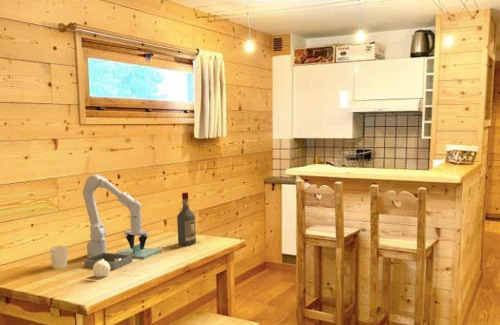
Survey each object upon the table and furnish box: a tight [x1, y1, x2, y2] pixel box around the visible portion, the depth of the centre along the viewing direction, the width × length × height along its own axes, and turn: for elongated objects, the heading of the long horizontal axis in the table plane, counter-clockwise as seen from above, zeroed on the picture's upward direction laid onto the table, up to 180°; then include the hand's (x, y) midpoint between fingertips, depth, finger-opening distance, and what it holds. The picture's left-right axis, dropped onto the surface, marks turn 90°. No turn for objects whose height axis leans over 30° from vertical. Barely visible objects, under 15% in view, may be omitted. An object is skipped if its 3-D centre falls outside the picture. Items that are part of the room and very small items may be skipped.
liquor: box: [176, 192, 197, 247], centre depth 268 cm, size 9×9×30 cm
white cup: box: [49, 245, 68, 269], centre depth 228 cm, size 8×8×10 cm
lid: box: [114, 243, 161, 260], centre depth 248 cm, size 19×15×5 cm
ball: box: [92, 260, 111, 278], centre depth 211 cm, size 8×8×8 cm
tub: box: [83, 252, 133, 271], centre depth 229 cm, size 18×14×4 cm
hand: (137, 248), depth 248 cm, fingers open, 6 cm apart
